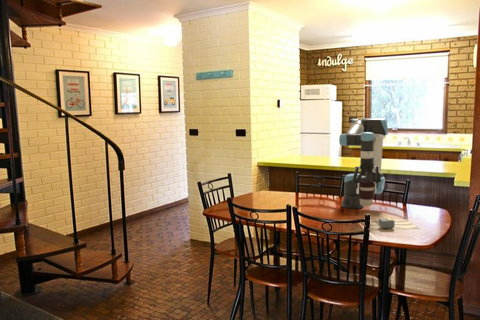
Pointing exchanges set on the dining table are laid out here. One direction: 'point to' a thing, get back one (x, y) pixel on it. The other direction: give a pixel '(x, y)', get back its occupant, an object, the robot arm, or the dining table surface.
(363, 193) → the coffee cup
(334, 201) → the dining table surface
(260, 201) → the dining table surface
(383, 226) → the block
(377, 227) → the subfloor panel
